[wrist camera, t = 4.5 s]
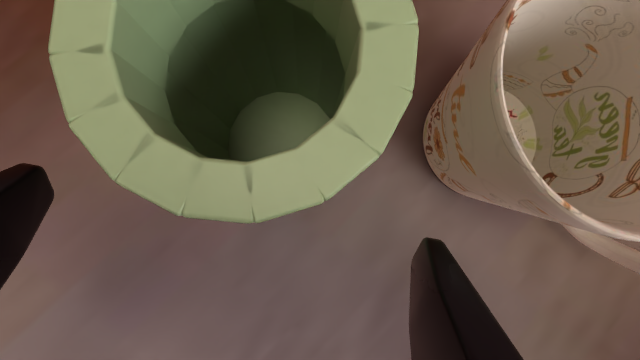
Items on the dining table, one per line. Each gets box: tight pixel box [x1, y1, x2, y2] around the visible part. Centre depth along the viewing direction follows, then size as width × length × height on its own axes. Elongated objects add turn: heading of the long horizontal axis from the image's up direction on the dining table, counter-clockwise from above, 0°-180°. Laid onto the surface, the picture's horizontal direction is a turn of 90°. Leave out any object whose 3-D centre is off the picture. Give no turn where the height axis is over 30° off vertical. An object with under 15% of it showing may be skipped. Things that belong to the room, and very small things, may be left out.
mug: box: [423, 0, 640, 274], centre depth 15 cm, size 8×13×10 cm, turn 44°
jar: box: [48, 0, 419, 224], centre depth 13 cm, size 6×6×13 cm
